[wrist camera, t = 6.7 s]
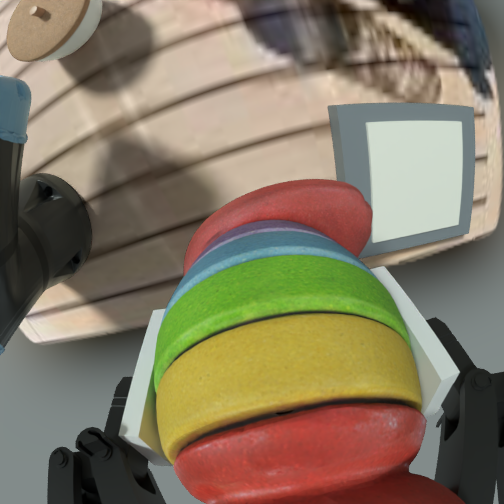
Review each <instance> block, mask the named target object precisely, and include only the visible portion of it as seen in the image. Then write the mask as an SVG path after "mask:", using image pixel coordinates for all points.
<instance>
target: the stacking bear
mask: <svg viewBox="0 0 504 504" xmlns="http://www.w3.org/2000/svg"><path fill="white" fill-rule="evenodd" d="M372 218H373V211H372V208H371V206H370V205H369V203H368V202H367V201H365V199H364V197H363V195H362V193H361V192H360V191H359V190H358V189H357V188H356V187H354V186H353V185H351V184H348V183H345V182H341V181H334V180H324V179H306V180H295V181H288V182H283V183H278V184H274V185H270V186H267V187H263V188H261V189H258V190H255V191H253V192H250V193H248V194H245V195H243V196H241V197H239V198H237V199H235V200H233V201H231V202H230V203H228V204H226V205H225V206H223V207H222V208H220V209H219V210H218V211H216V212H215V213H213V214H212V215H211V216H210V217H208V218H207V219H206V220H205V221H204V222H203V223H202V225H201V226H200V227H199V228H198V229H197V231H196V232H195V234H194V235H193V237H192V239H191V241H190V243H189V245H188V248H187V251H186V255H185V260H184V277H183V278H182V280H181V282H180V283H179V285H178V287H177V288H176V290H175V292H174V293H173V295H172V297H171V299H170V301H169V303H168V305H167V307H166V310H165V312H164V315H163V318H162V322H161V326H160V329H159V332H158V336H157V342H156V349H155V360H154V386H155V392H156V394H157V397H156V409H157V424H158V431H159V436H160V441H161V445H162V449H163V451H164V454H165V455H166V457H167V459H168V460H169V461H170V462H171V464H173V465H174V470H175V472H176V475H177V476H178V478H179V479H180V481H181V483H182V484H183V485H184V486H185V488H186V489H187V490H188V491H189V492H190V494H191V495H192V496H194V497H195V498H196V499H198V500H200V501H202V502H204V503H206V504H465V503H464V501H463V500H461V499H460V498H459V497H458V496H457V495H456V494H455V493H454V492H452V491H451V490H450V489H448V488H447V487H445V486H443V485H442V484H440V483H438V482H436V481H434V480H432V479H429V478H428V477H425V476H421V475H417V474H412V473H410V472H409V465H410V464H411V462H412V461H413V460H414V458H415V457H416V456H417V454H418V452H419V450H420V447H421V443H422V440H423V437H424V434H425V428H426V419H425V417H424V415H423V414H422V413H421V409H422V396H421V387H420V382H419V377H418V373H417V369H416V364H415V361H414V358H413V355H412V352H411V346H410V339H409V336H408V333H407V330H406V327H405V324H404V322H403V319H402V317H401V314H400V312H399V310H398V308H397V306H396V303H395V301H394V300H393V298H392V296H391V295H390V293H389V292H388V290H387V289H386V288H385V287H384V285H383V284H382V283H381V282H380V281H379V280H378V278H377V277H376V276H375V275H374V274H373V273H372V271H371V270H370V269H369V268H368V267H367V266H365V265H364V264H363V263H362V262H361V261H360V260H359V259H358V257H359V255H360V253H361V252H362V250H363V249H364V247H365V246H366V244H367V242H368V240H369V238H370V235H371V232H372V226H371V225H372Z"/></svg>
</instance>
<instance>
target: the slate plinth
mask: <svg viewBox="0 0 504 504" xmlns="http://www.w3.org/2000/svg"><path fill="white" fill-rule="evenodd" d="M328 112H329V119H330V125H331V133H332V140H333V148H334V157H335V166H336V176H337V181H341V182H345V183H348V184H351V185H353V186H354V187H356V188H357V189H358V190H359V191H360V192H361V193H362V195H363V197H364V199H365V201H367V202H368V203H369V205H370V206H371V208H372V211H373V218H372V225H371V226H372V232H371V235H370V238H369V240H368V242H367V244H366V246H365V247H364V249H363V250H362V252H361V253H360V255H359V257H358V259H360V258H365V257H369V256H374V255H378V254H383V253H387V252H392V251H396V250H401V249H405V248H409V247H414V246H418V245H422V244H426V243H431V242H435V241H439V240H443V239H447V238H451V237H455V236H459V235H464V234H468V233H469V228H470V221H471V212H472V203H473V191H474V175H475V124H474V108H473V107H467V106H460V105H447V104H431V103H362V104H344V105H331V106H328Z"/></svg>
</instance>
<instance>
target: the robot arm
mask: <svg viewBox="0 0 504 504" xmlns="http://www.w3.org/2000/svg"><path fill="white" fill-rule="evenodd" d="M30 105H31V91H30V88H29V87H28V85H27V84H26V83H25V82H24V81H22V80H20V79H17V78H12V77H7V76H2V75H0V355H1V354H2V353H3V352H4V350H5V349H4V348H5V346H6V344H7V343H8V341H9V340H10V338H11V337H12V335H13V334H14V332H15V331H16V329H17V328H18V326H19V325H20V324H21V322H22V321H23V319H24V318H25V317H26V315H27V314H28V312H29V311H30V310H31V308H32V307H33V306H34V304H35V303H36V302H37V300H38V299H39V297H40V296H41V295H42V294H43V292H44V291H45V290H46V289H48V288H50V287H52V286H54V285H56V284H58V283H60V282H62V281H64V280H67V279H69V278H70V277H72V276H73V275H74V274H75V273H76V272H77V271H78V270H79V268H80V267H81V266H82V265H83V263H84V262H85V261H86V259H87V257H88V255H89V252H90V248H91V240H92V233H91V225H90V221H89V217H88V214H87V211H86V209H85V207H84V205H83V203H82V201H81V199H80V198H79V196H78V195H77V193H76V192H75V191H74V190H73V189H72V188H71V187H70V186H69V185H68V184H67V183H66V182H65V181H63V180H62V179H60V178H58V177H56V176H54V175H51V174H46V173H39V174H34V175H31V176H29V177H27V178H25V179H23V180H21V181H20V176H21V166H22V157H23V150H24V143H26V142H27V138H28V136H27V134H26V130H27V123H28V116H29V111H30ZM370 270H371V271H372V273H373V274H374V275H375V276H376V277H377V278H378V280H379V281H380V282H381V283H382V284H383V285H384V287H385V288H386V289H387V290H388V292H389V293H390V295H391V296H392V298H393V300H394V301H395V303H396V306H397V308H398V310H399V312H400V314H401V317H402V319H403V322H404V324H405V327H406V330H407V333H408V336H409V339H410V346H411V352H412V355H413V358H414V361H415V364H416V369H417V373H418V377H419V382H420V387H421V396H422V409H421V413H422V414H423V415H424V417H425V418H427V417H429V416H431V415H433V414H436V413H437V411H438V410H439V408H440V406H442V408H443V410H444V413H443V415H442V416H441V418H440V419H439V421H438V422H437V425H436V427H439V426H440V424H441V423H442V424H441V436H440V446H439V454H438V461H437V468H436V474H435V480H434V481H436V482H438V483H440V484H442V485H443V486H445V487H447V488H448V489H450V490H451V491H452V492H454V493H455V494H456V495H457V496H458V497H459V498H460V499H461V500H463V501H464V503H465V504H493V500H494V493H495V485H496V481H497V489H498V501H499V504H504V372H500V373H494V374H490V373H489V372H488V371H486V370H484V369H480V368H477V367H476V366H475V365H474V364H473V362H472V361H471V359H470V358H469V356H468V355H467V353H466V352H465V350H464V349H463V348H462V346H461V345H460V343H459V342H458V341H457V339H456V338H455V336H454V335H453V334H452V333H451V331H450V330H449V328H448V327H447V326H446V324H445V323H443V322H442V321H440V320H439V319H437V318H436V317H435V318H432V319H429V320H426V321H425V319H424V318H423V317H422V315H421V314H420V312H419V311H418V310H417V308H416V307H415V306H414V304H413V303H412V301H411V300H410V299H409V297H407V295H406V294H405V292H404V291H403V290H402V288H401V287H400V286H399V285H398V283H397V282H396V281H395V279H394V278H393V277H392V276H391V274H390V273H389V272H388V271H387V270H386V268H385V267H384V266H382V267H378V268H374V269H370ZM165 310H166V309H159V310H153V313H152V316H151V319H150V322H149V325H148V328H147V331H146V335H145V338H144V341H143V344H142V348H141V351H140V354H139V358H138V361H137V365H136V368H135V372H134V375H133V377H123V378H122V380H121V381H120V383H119V384H118V386H117V387H116V391H115V394H114V399H113V401H112V404H111V405H112V407H111V408H110V411H109V415H108V419H107V422H106V427H105V430H104V432H102V431H101V430H100V429H98V428H94V427H91V428H87V429H85V430H83V431H82V432H81V433H80V434H79V435H78V437H77V440H76V448H77V449H78V450H79V452H72V451H70V450H69V449H68V448H66V447H59V448H57V449H55V450H54V451H53V452H52V454H51V455H50V459H49V469H48V504H166V503H165V500H164V499H163V496H162V494H161V492H160V490H159V488H158V486H157V484H156V481H155V479H154V477H153V475H152V473H151V471H150V469H149V468H148V460H149V461H150V462H151V463H153V464H154V465H159V466H173V464H171V462H170V461H169V460H168V459H167V457H166V455H165V454H164V451H163V449H162V445H161V441H160V436H159V431H158V424H157V409H156V397H157V394H156V392H155V386H154V360H155V349H156V342H157V336H158V332H159V329H160V326H161V322H162V318H163V315H164V312H165Z"/></svg>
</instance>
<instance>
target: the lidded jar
mask: <svg viewBox="0 0 504 504" xmlns="http://www.w3.org/2000/svg"><path fill="white" fill-rule="evenodd" d="M101 15H102V0H21V1H20V2H19V4H18V5H17V7H16V9H15V11H14V12H13V15H12V17H11V19H10V22H9V25H8V30H7V45H8V49H9V51H10V53H11V55H12V56H13V57H14V58H15V59H17V60H20V61H26V62H32V61H40V62H42V61H52V60H56V59H60V58H63V57H65V56H67V55H70V54H71V53H73V52H75V51H76V50H78V49H79V48H80V47H81V46H82V45H84V44H85V43H86V42H87V41H88V40H89V38H90V37H91V36H92V35H93V33H94V32H95V30H96V28H97V26H98V24H99V21H100V18H101Z"/></svg>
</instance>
